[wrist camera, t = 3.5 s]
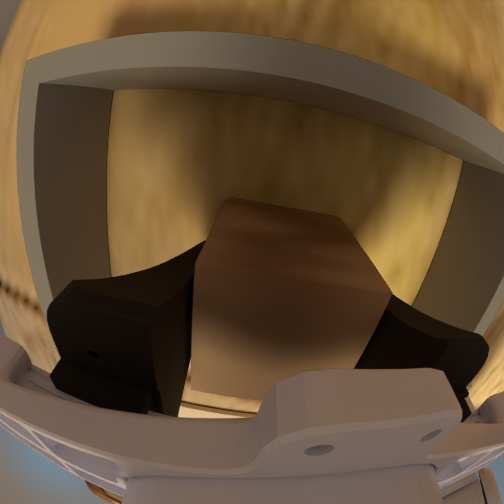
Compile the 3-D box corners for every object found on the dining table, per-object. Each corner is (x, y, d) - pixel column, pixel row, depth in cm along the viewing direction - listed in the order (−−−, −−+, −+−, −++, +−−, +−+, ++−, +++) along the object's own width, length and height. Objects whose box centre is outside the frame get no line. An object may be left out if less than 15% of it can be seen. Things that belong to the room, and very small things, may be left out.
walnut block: (340, 217, 12) (392, 293, 6) (312, 308, 14) (330, 404, 9) (227, 197, 12) (194, 263, 6) (216, 293, 14) (190, 389, 8)
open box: (479, 149, 10) (547, 171, 5) (359, 408, 18) (370, 459, 14) (99, 72, 9) (26, 60, 5) (118, 375, 18) (95, 426, 13)
